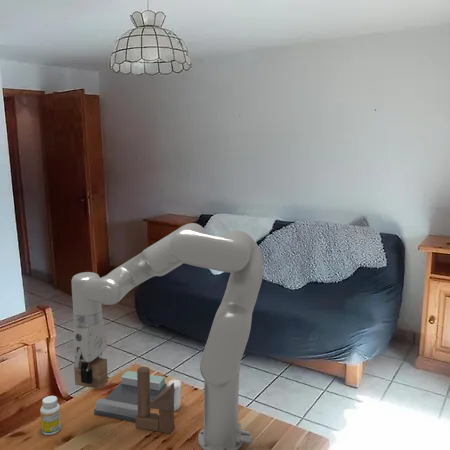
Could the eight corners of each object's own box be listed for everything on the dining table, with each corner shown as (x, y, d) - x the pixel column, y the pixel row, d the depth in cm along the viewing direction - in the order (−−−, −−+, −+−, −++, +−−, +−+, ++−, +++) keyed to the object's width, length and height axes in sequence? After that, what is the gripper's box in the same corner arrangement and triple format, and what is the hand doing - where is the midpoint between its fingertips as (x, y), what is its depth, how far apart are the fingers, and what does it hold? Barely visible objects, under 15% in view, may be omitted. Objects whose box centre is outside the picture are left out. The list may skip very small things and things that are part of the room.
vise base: (166, 387, 157) (166, 376, 156) (138, 423, 137) (138, 410, 136) (126, 380, 161) (126, 370, 160) (94, 414, 141) (93, 402, 140)
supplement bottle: (56, 436, 130) (55, 405, 128) (38, 435, 130) (36, 404, 129) (64, 424, 135) (62, 394, 134) (46, 423, 136) (44, 393, 134)
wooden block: (170, 434, 132) (170, 376, 129) (135, 428, 134) (134, 371, 131) (174, 426, 136) (174, 369, 132) (140, 421, 138) (139, 365, 135)
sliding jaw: (164, 383, 156) (164, 376, 156) (159, 390, 152) (159, 383, 151) (127, 377, 160) (127, 370, 160) (121, 383, 156) (120, 377, 155)
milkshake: (178, 414, 142) (178, 384, 140) (164, 409, 144) (164, 379, 142) (186, 407, 145) (186, 378, 144) (173, 402, 148) (173, 373, 146)
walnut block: (107, 381, 131) (106, 358, 130) (100, 388, 128) (99, 365, 126) (83, 378, 134) (81, 355, 132) (75, 384, 130) (73, 361, 129)
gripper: (82, 330, 118) (86, 396, 121) (115, 308, 134) (118, 366, 137) (57, 327, 120) (62, 391, 124) (92, 305, 136) (95, 363, 139)
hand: (91, 378), depth 130 cm, fingers closed on walnut block, 4 cm apart
